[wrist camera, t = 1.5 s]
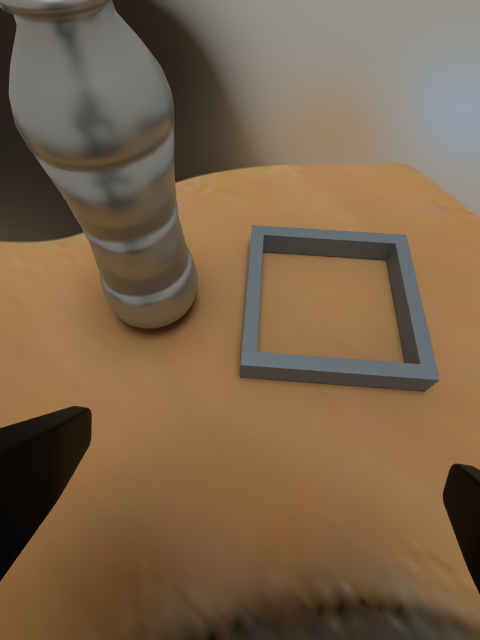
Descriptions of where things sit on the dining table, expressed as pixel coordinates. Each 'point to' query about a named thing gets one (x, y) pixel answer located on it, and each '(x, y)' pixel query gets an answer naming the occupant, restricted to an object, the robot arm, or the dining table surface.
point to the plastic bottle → (105, 148)
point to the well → (353, 372)
